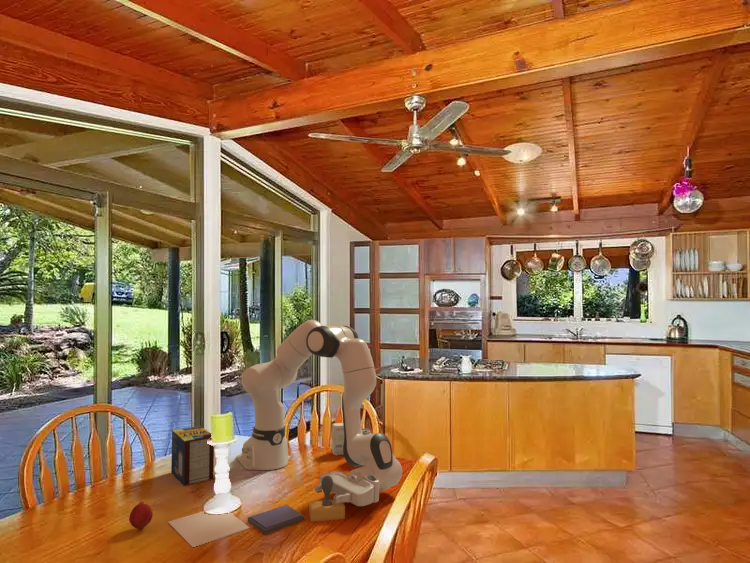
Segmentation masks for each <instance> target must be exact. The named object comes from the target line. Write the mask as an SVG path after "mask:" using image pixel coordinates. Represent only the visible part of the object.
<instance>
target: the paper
mask: <svg viewBox="0 0 750 563" xmlns="http://www.w3.org/2000/svg"><path fill="white" fill-rule="evenodd" d="M204 511H205V510H202V511H200V512H199V511H198V512H196V513H193V514H189V515H187V516H183V517H179V518H176V519H172V520H170V521H167V523H169V524H170V525H171V526H172V527H173V528H174V529H175V530H176V531H177V532H178V533H179V534H180V535H181V536H182V537H183V538H184V539H185V540H186V541H187V542H188V543H189V544H190V545H191V546H192V547H195V548H197V547H196V546H198V547H200V546H199V545H201V546H203V545H202V544H204V545H206V544H205V543H207V544H209V543H211V541H212V542H215V541H218V540H220V539H223V538H226V537H229V536H233V535H235V534H237V533H240V532H243V531H247V530H250V526H249V525H248V524H246V523H245V522H244V521H242V520H240V518H238V517H237V516H236V515H234V514H233V513H231V512H230V513H228V514H221V515H208V514H204ZM169 524H168V525H169ZM171 526H170V527H171ZM172 527H171V528H172ZM173 528H172V529H173ZM175 530H174V531H175ZM176 531H175V532H176ZM177 532H176V533H177ZM178 533H177V534H178ZM179 534H178V535H179ZM181 536H180V537H181ZM182 537H181V538H182ZM183 538H182V539H183ZM184 539H183V540H184ZM185 540H184V541H185ZM214 540H215V541H214ZM186 541H185V542H186ZM187 542H186V543H187ZM208 542H209V543H208ZM188 543H187V544H188ZM189 544H188V545H189ZM190 545H189V546H190ZM191 546H190V547H191Z"/></svg>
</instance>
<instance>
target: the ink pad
mask: <svg viewBox="0 0 750 563" xmlns="http://www.w3.org/2000/svg"><path fill="white" fill-rule="evenodd" d="M305 520H306V515H304V514H302V513H300V512H299V511H298V510H296V509H294V508H293V507H290V506H289V505H288V504H284V505H281V506H278V507H275V508H272V509H269V510H267V511H263V512H260V513H257V514H253V515H251V516H248V517H247V523H249V524H250V525H251V526H252V527H254V528H256V529H257V530H258V531H259V532H261V533H262V534H263V535H264V536H265V535H268V534H269V535H270V534H271V533H274V532H277V531H280V530H283V529H285V528H288V527H290V526H293V525H296V524H299V523H301V522H304V521H305Z"/></svg>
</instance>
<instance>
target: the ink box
mask: <svg viewBox="0 0 750 563" xmlns="http://www.w3.org/2000/svg"><path fill="white" fill-rule="evenodd" d="M331 431H332V433H331V434H332V435H331V437H332V438H331V439H332V441H331V443H332V444H331V452H332V454H333V455H334V456H341V455H343V456H344V454H343V445H344V425H343V422H337V423H332V430H331Z"/></svg>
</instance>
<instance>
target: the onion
mask: <svg viewBox="0 0 750 563" xmlns="http://www.w3.org/2000/svg"><path fill="white" fill-rule="evenodd" d="M153 515H154V514H153V509H152V508H151V507H150V505H149V504H147V503H145V501H144V500H141V501H140V502H138V504H136V505H135V506H134V507H133V508H132V510H131V512H130V514H129V518H128V519H129V523H130V525H131V526H132V527H133V528H135V529H138V530H140V531H143V529H145V528H146V527H147V526H148V525H149V524H150V523H151V521H152V519H153Z"/></svg>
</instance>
